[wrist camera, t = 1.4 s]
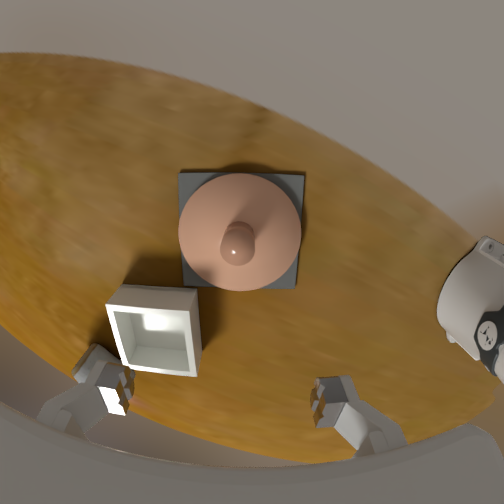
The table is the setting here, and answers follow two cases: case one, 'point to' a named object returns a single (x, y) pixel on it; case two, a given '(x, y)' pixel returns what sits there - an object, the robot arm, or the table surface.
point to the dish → (157, 328)
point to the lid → (239, 232)
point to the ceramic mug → (93, 362)
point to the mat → (284, 181)
